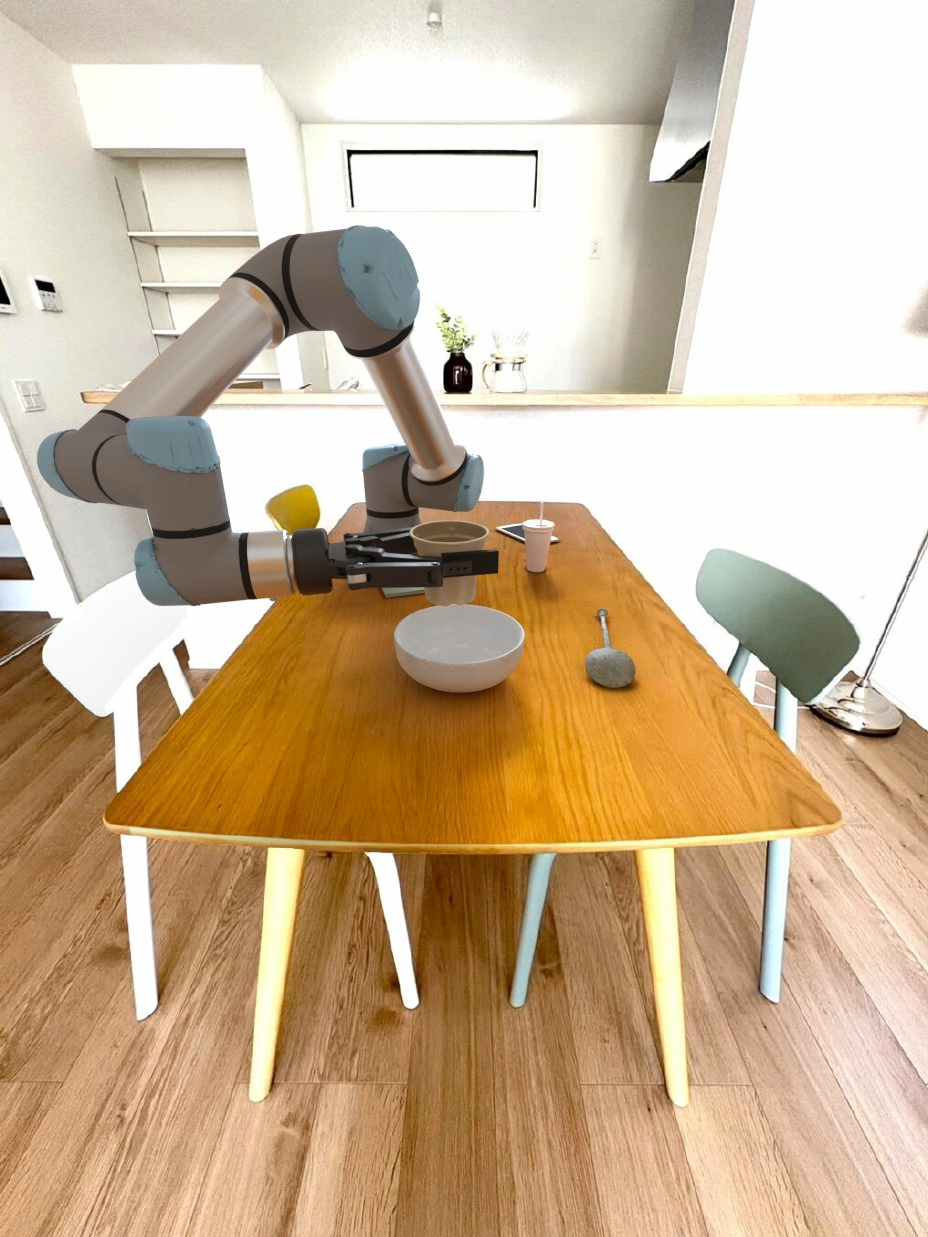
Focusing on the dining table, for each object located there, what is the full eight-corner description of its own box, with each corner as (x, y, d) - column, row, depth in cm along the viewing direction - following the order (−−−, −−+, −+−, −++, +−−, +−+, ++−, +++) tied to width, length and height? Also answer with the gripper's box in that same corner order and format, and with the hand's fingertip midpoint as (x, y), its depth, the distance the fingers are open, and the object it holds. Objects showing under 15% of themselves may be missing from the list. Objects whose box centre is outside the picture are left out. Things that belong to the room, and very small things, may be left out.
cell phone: (533, 546, 122) (533, 543, 122) (495, 529, 134) (495, 527, 134) (559, 541, 125) (559, 538, 125) (520, 525, 138) (520, 523, 138)
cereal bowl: (420, 726, 60) (418, 674, 57) (381, 660, 74) (378, 615, 71) (546, 693, 67) (550, 645, 64) (489, 638, 80) (490, 596, 77)
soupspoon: (583, 689, 69) (634, 696, 68) (587, 667, 67) (639, 675, 66) (582, 614, 88) (622, 619, 87) (585, 596, 86) (626, 601, 85)
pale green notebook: (373, 572, 106) (372, 568, 106) (439, 565, 110) (438, 561, 110) (385, 598, 94) (385, 594, 94) (459, 589, 98) (459, 585, 98)
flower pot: (480, 616, 60) (481, 544, 57) (402, 609, 62) (398, 539, 58) (492, 587, 69) (494, 522, 65) (424, 581, 70) (422, 518, 67)
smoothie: (537, 576, 104) (541, 507, 98) (513, 568, 109) (516, 501, 102) (557, 569, 108) (563, 502, 102) (534, 561, 112) (538, 496, 106)
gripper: (303, 564, 70) (466, 552, 75) (293, 634, 51) (512, 612, 56) (295, 508, 67) (466, 499, 72) (282, 561, 48) (515, 545, 53)
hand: (486, 549), depth 64 cm, fingers closed on flower pot, 8 cm apart
